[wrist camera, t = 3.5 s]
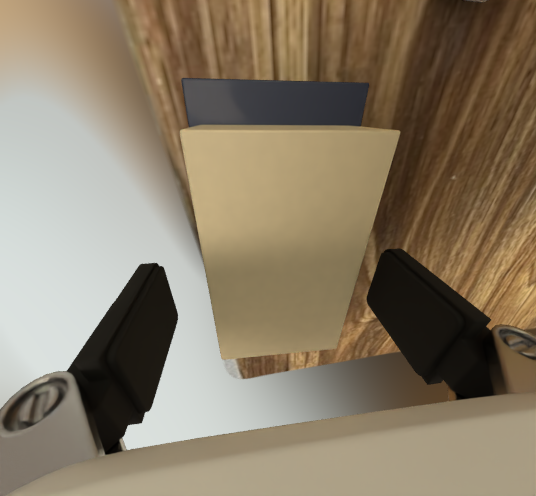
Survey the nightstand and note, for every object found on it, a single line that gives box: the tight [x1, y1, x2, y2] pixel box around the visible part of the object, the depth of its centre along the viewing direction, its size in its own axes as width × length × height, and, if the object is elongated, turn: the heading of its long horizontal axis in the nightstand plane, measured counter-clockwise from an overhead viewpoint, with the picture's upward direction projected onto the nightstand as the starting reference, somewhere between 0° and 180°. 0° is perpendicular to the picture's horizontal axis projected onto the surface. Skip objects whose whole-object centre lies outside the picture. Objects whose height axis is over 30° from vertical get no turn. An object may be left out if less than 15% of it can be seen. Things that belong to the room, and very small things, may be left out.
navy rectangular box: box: [181, 78, 369, 128], centre depth 13 cm, size 14×7×3 cm, turn 179°
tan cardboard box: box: [180, 125, 400, 360], centre depth 10 cm, size 11×6×4 cm, turn 179°
